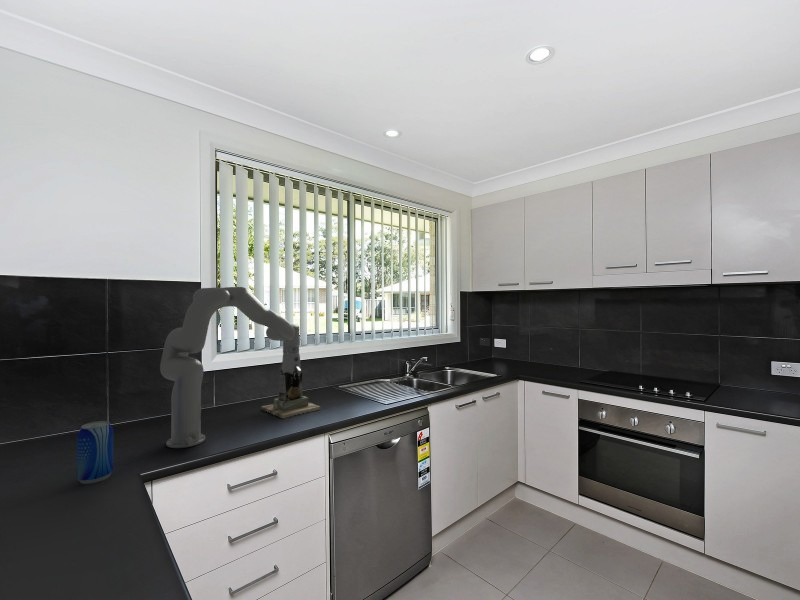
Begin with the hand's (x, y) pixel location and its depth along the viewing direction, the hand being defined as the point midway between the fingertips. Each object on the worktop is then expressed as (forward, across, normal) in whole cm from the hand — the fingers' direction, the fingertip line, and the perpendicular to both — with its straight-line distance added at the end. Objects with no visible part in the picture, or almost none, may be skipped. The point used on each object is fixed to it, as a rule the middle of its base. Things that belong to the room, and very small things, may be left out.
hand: (290, 385), depth 182 cm
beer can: (+14, -22, +76) cm, 81 cm away
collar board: (+12, 0, -1) cm, 12 cm away
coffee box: (+10, 0, 0) cm, 10 cm away
